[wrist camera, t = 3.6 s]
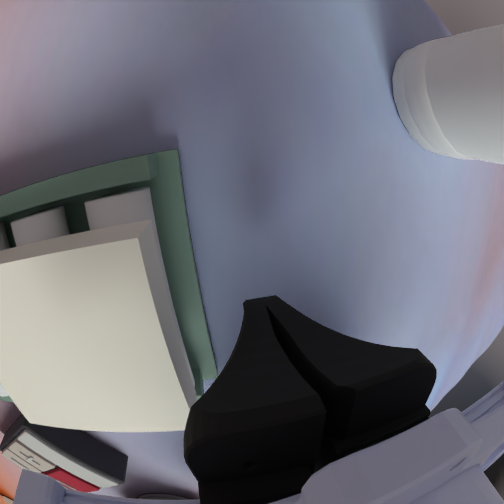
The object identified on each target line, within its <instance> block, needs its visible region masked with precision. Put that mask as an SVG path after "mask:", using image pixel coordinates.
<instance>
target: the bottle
mask: <svg viewBox="0 0 504 504" xmlns="http://www.w3.org/2000/svg"><path fill="white" fill-rule="evenodd" d="M392 81H393V95H394V100H395V103H396V106H397V109H398V113H399V116H400V118H401V120H402V122H403V124H404V125H405V127H406V129H407V130H408V132H409V134H410V136H411V137H412V138H413V139H414V140H415V141H416V142H417V143H418V144H419V145H420V146H421V147H422V148H424V149H426V150H428V151H430V152H432V153H435V154H439V155H446V156H448V157H452V158H457V159H466V160H467V159H475V160H481V161H487V162H492V163H498V164H503V165H504V24H502V25H497V26H492V27H487V28H482V29H477V30H473V31H469V32H465V33H461V34H457V35H453V36H450V37H443V38H439V39H435V40H431V41H427V42H424V43H421V44H419V45H416V47H414V48H411V49H409V50H406V51H404V52H403V54H402V55H401V56H400V57H399V58H398V60H397V61H396V64H395V68H394V72H393V76H392Z"/></svg>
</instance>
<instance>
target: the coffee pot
mask: <svg viewBox="0 0 504 504" xmlns="http://www.w3.org/2000/svg"><path fill="white" fill-rule="evenodd" d="M139 499H148V500H189V499H186V498H183V497H179V496H174V495H166V494H146V495H142V496H140V497H139Z"/></svg>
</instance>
